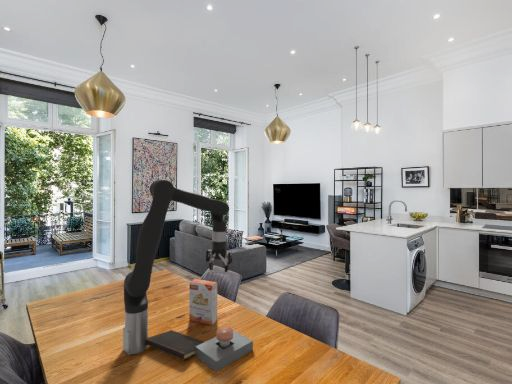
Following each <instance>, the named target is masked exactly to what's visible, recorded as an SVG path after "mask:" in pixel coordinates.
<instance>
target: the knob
mask: <svg viewBox="0 0 512 384" xmlns="http://www.w3.org/2000/svg"><path fill="white" fill-rule="evenodd" d="M233 330H234V328H233V329H232V327H228V326H223V327H220V328H218V329H217V330H216V337H217V340H219V341H220V347H222V348H223V349H226V348H227V347H229V346H230V340H232V338H233Z"/></svg>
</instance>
